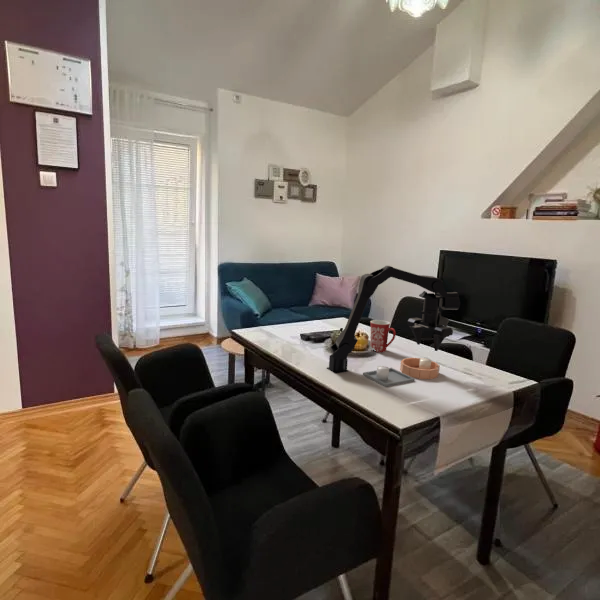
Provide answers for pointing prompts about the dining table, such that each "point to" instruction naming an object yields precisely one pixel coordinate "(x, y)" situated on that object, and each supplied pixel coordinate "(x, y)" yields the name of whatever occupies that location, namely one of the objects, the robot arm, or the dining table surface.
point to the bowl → (412, 369)
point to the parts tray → (390, 377)
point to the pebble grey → (382, 373)
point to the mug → (380, 335)
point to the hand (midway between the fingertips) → (427, 347)
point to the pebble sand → (425, 364)
